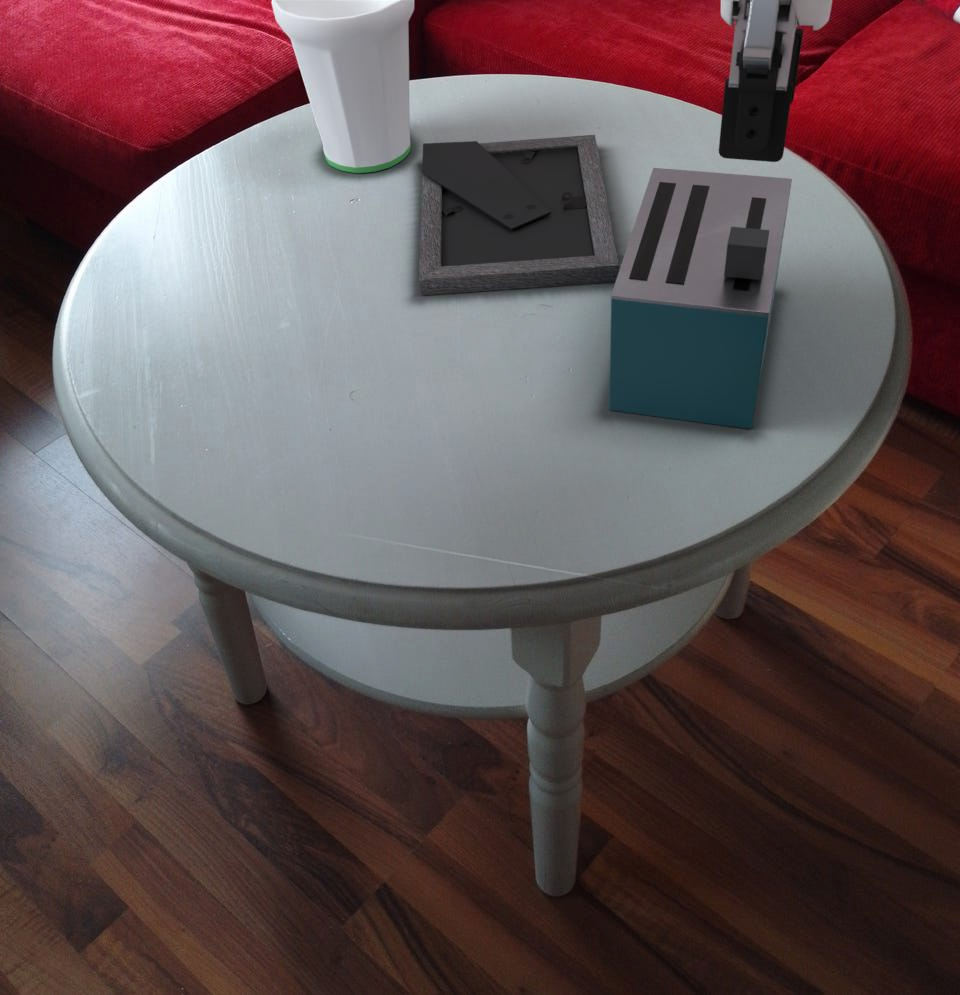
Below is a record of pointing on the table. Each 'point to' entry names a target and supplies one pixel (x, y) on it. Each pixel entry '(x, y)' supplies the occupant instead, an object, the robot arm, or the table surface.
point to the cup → (354, 76)
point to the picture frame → (514, 216)
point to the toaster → (694, 299)
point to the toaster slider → (746, 253)
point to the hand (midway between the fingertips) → (757, 125)
